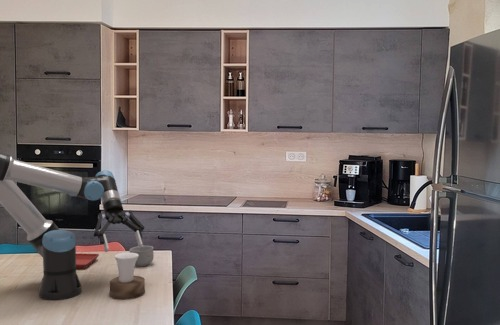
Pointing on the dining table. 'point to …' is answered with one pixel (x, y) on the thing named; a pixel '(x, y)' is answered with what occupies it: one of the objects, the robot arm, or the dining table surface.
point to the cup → (126, 266)
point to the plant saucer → (85, 260)
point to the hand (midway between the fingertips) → (124, 248)
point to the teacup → (143, 255)
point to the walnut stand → (127, 288)
